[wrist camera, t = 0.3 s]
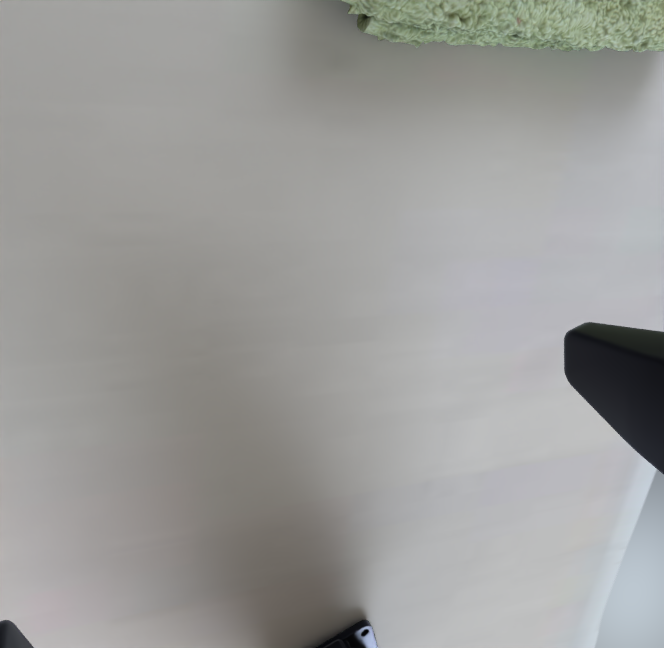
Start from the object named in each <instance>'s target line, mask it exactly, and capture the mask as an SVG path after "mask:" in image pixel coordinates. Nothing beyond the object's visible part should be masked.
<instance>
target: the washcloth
mask: <svg viewBox="0 0 664 648" xmlns="http://www.w3.org/2000/svg"><path fill="white" fill-rule="evenodd" d="M341 1H344V2H347V3H349V4H350V9H349V11H348V14H359V15H358V19H357V26H358V28H359V30H360V31H361V32H363V33H368V34H371V35H376V36H377V37H378V40H380V41H381V40H384V39H386V40H388V41H391V42H394V43H395V42H402V43H407V44H413V45H415V46H416V48H418V47H419V46H420V44H421V43H422V42H423V41H424V44H426V43H429V42H431V41H436V42H442V41H445V42H446V43H447V44H449V45H455V46H458V44H459V45H464V44H471V45H472V44H475V45H480V46H482V47H484V46H486V45H488V44H489V45H491V46H493V47H495V46H496V45H497V44H498V43H500V44H502V45H503V46H504V47H507V46H508V47H530V48H532V49H542V48H546V47H548V46H549V47H551V49H552V50H553V49H556V48H559V49H561V50H562V51H571V50H579V51H580V50H581V49H582V48H586V49H588V50H589V51H591V52H592V51H598V50H601V49H603V48H604V47H606V48H611V49H613V50H617V51H629V50H631V49H633V51H634V52H643V51H645V50H650V51H664V0H341Z"/></svg>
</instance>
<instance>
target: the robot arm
mask: <svg viewBox="0 0 664 648" xmlns="http://www.w3.org/2000/svg"><path fill="white" fill-rule="evenodd" d="M564 370H565V375H566V377H567V380H568V381H569V383H570V384H571V385H572V386H573V388H574V389H575V390H576V391H577V392H578V393H579V394H580V395H581V396H582V397H583V398H584V399H585V400H586V401H587V402H588V403H589V404H590V405H591V406H592V407H593V408H594V409H595V410H596V411H597V412H598V413H599V414H600V415H601V416H602V417H603V418H604V419H605V420H606V421H607V422H608V423H609V424H610V426H611V427H612V428H613V429H614V430H615V431H616V432H617V433H618V434H619V435H620V436H621V437H622V438H623V439H624V440H625V441H626V442H627V443H628V444H629V445H630V446H631V447H632V448H633V449H635V450H636V451H637V452H638V453H639V454H640V455H641V456H643V457H644V458H645V459H646V460H647V461H648V462H649V463H651V464H652V465H653V466H654V467H655V468H657V469H658V470H659V471H660V472H661V473H663V474H664V332H660V331H652V330H645V329H637V328H630V327H622V326H615V325H607V324H600V323H592V322H587V323H584V324H581V325H579V326H577V327H576V328H574V329H572V330H570V331H568V332H567V333H566V335H565V338H564ZM0 648H34V647H33V646H32V645H31V644H30V642H29V641H28V640H27V639H26V638H25V636H24V635H23V634H22V633H21V631H20V630H19V629H18V628H17V627H16V625H15V624H14V623H12V622H11V621H9V620H3V621H1V622H0ZM316 648H378V646H377V642H376V639H375V635H374V631H373V628H372V626H371V625H370V623H369V622H368V621H367V620H363V621H360V622H359V623H357V624H355V625H353V626H352V627H350V628H348V629H347V630H345V631H343V632H342V633H340V634H338V635H337V636H335V637H333V638H331V639H330V640H328V641H326V642H325V643H323V644H321V645H320V646H318V647H316Z"/></svg>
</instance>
